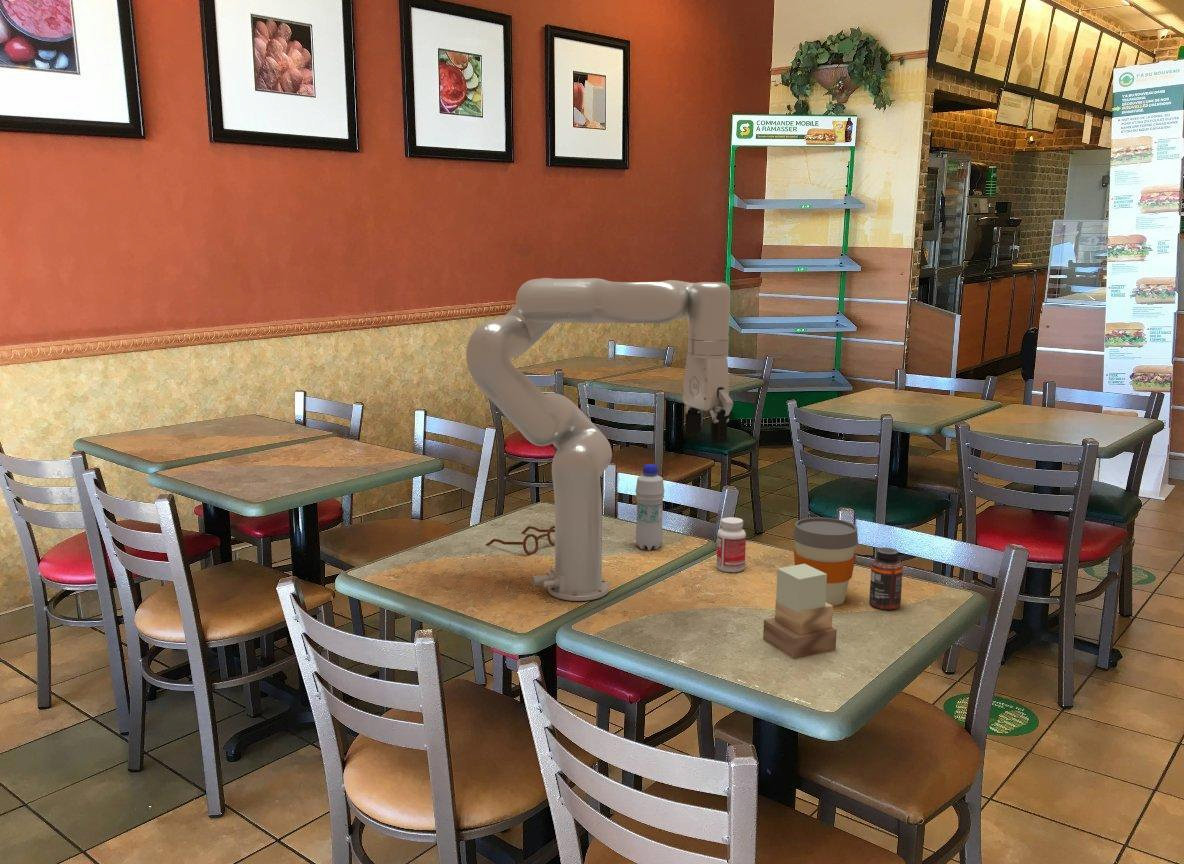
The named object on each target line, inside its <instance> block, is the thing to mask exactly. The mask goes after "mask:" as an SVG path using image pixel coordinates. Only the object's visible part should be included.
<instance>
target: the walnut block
mask: <svg viewBox="0 0 1184 864" xmlns="http://www.w3.org/2000/svg"><path fill="white" fill-rule="evenodd" d="M762 631H763V632H762V633H763V635H762V639H763V640H764V641H765V642H767V643H769V644H770V645H772V646H774V647H775V648H777V649H778V650H779V651H781V652H782V653H784V654H785V655H787V656H789V657H790V658H792V659H798V658H803V657H807V656H811V655H817V654H821V653H826V652H831V651H836V648H837V647H836V646H837V632H838V630H837V629H836V628H834V627H833V626H832V627H831V628H827V629H823V630H818V631H814V632H810V633H805V634H801V635H800V634H798V633H796V632H795V631H793V630H791V629H789V628H787V627H786V626H784V625H782V624H780V623H779V622H777V621H775V617H771V618H766V619H763V629H762Z"/></svg>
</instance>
